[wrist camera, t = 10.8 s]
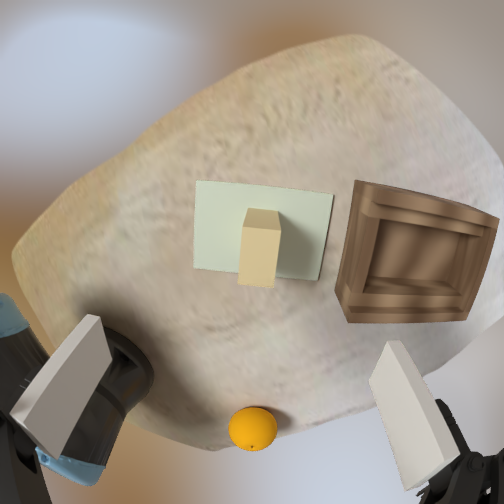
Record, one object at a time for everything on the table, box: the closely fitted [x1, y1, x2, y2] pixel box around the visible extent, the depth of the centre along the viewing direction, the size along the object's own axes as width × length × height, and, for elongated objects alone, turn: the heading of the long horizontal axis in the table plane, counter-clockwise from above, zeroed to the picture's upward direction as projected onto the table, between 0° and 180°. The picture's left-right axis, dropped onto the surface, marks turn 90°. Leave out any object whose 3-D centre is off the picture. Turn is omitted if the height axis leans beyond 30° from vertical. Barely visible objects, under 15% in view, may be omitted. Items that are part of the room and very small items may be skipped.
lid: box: [194, 180, 333, 288], centre depth 25 cm, size 14×10×8 cm
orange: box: [228, 407, 277, 451], centre depth 37 cm, size 8×8×8 cm
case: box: [334, 180, 500, 323], centre depth 25 cm, size 17×13×6 cm
